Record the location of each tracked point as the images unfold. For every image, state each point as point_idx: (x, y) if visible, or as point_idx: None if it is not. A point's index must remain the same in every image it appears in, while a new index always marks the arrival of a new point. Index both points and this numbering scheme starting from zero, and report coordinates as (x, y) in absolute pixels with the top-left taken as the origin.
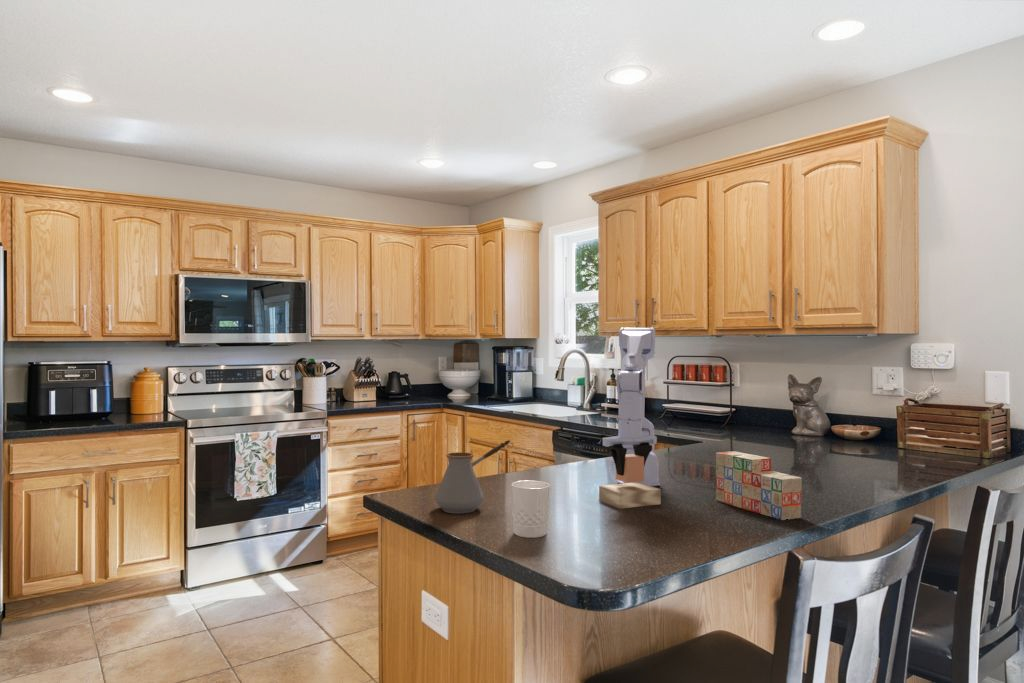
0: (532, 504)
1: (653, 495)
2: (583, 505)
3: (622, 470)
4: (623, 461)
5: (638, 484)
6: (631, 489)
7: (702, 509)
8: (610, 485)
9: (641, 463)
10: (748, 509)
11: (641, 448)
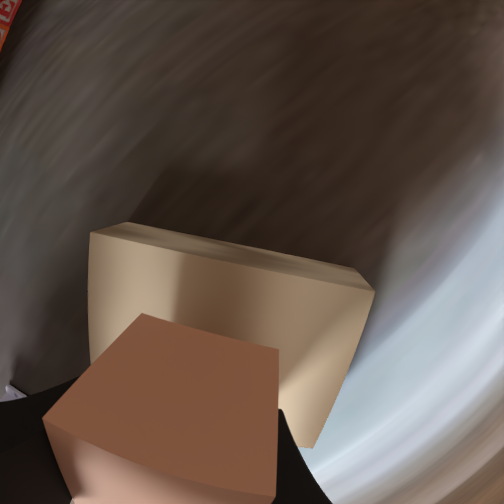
0: None
1: (145, 236)
2: (416, 376)
3: (283, 429)
4: (286, 481)
5: None
6: (238, 323)
7: (71, 75)
8: None
9: (100, 390)
10: (5, 35)
11: (12, 496)
